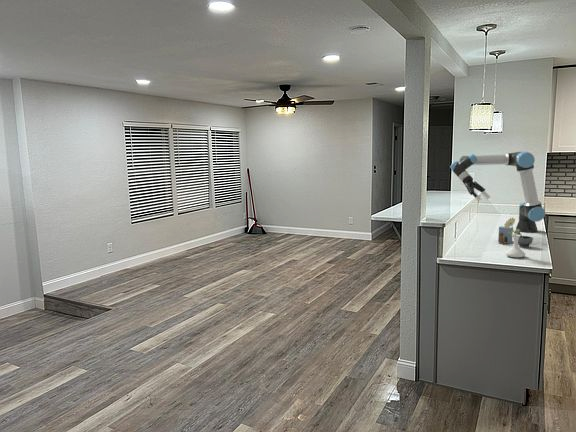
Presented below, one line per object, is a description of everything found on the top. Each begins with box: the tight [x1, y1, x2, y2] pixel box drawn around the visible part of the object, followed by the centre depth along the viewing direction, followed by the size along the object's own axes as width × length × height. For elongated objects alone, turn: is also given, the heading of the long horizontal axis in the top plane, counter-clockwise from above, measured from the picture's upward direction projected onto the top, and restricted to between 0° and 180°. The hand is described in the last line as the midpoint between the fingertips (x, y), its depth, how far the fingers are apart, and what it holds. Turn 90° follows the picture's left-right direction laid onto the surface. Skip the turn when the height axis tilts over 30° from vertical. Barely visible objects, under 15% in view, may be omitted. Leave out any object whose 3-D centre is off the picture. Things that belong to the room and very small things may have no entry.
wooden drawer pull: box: [498, 232, 508, 245], centre depth 312 cm, size 15×2×8 cm, turn 129°
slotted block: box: [497, 225, 514, 245], centre depth 312 cm, size 4×8×11 cm, turn 39°
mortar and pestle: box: [514, 229, 534, 249], centre depth 297 cm, size 11×9×12 cm
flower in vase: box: [503, 217, 526, 258], centre depth 272 cm, size 13×11×25 cm
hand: (484, 199), depth 326 cm, fingers open, 13 cm apart
